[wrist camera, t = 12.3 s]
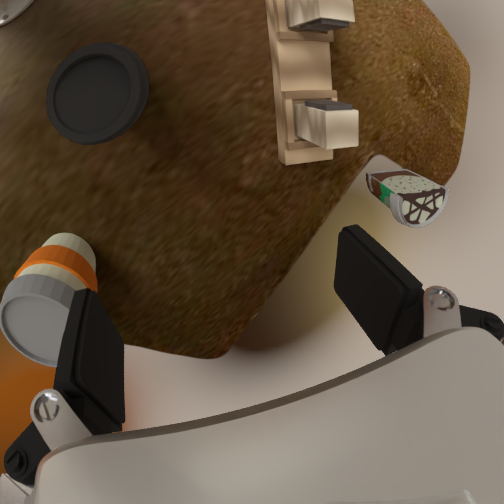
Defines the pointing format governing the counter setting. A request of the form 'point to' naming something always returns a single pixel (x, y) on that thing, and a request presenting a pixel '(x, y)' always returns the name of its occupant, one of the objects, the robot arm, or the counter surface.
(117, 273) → the counter surface
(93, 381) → the robot arm
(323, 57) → the rail
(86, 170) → the counter surface
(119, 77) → the coffee cup
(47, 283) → the reusable coffee cup
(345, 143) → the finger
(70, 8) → the counter surface
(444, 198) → the food container
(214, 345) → the counter surface
